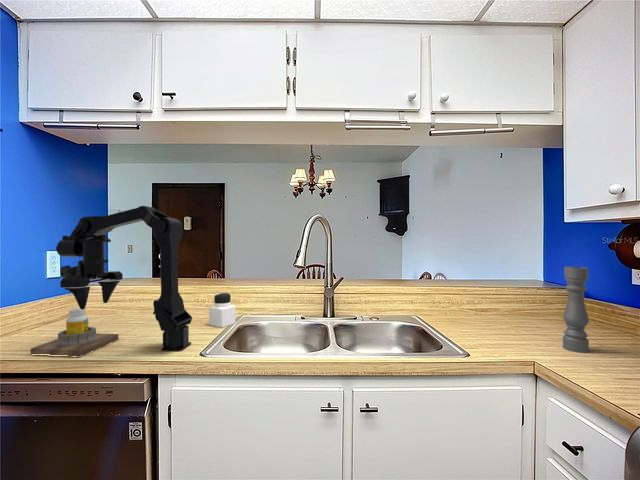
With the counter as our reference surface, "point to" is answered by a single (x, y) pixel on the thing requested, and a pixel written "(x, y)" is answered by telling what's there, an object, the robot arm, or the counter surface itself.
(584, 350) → the candle holder
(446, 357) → the counter surface
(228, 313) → the medicine bottle
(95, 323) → the counter surface
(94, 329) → the brown base with ring
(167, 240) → the robot arm
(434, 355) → the counter surface
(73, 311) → the supplement bottle
